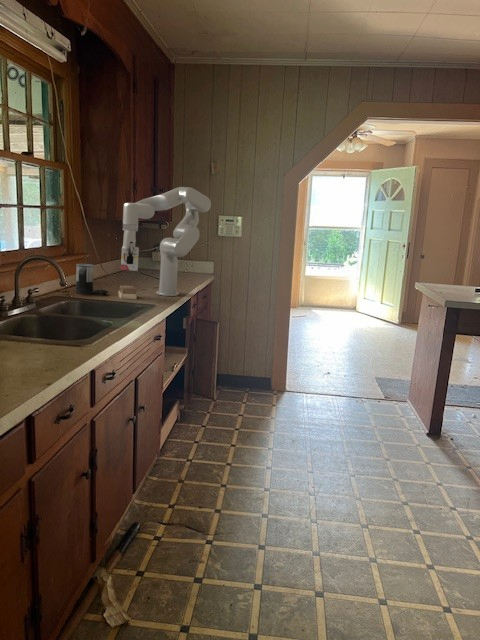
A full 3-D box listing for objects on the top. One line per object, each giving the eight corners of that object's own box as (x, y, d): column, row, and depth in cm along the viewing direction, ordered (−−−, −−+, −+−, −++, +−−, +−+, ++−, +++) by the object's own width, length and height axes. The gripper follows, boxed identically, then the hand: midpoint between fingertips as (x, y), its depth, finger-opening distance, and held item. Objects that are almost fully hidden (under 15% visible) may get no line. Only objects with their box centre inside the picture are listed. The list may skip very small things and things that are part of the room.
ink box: (120, 269, 246) (121, 246, 244) (121, 268, 251) (121, 245, 249) (137, 271, 248) (138, 247, 246) (137, 269, 253) (138, 247, 250)
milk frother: (74, 290, 257) (74, 263, 254) (104, 291, 264) (105, 264, 260) (77, 296, 245) (77, 266, 241) (109, 296, 251) (109, 268, 248)
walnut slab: (119, 291, 254) (120, 285, 253) (133, 291, 257) (133, 286, 256) (122, 293, 247) (122, 288, 247) (136, 294, 250) (136, 288, 250)
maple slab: (118, 296, 255) (118, 291, 254) (133, 297, 258) (133, 291, 257) (120, 299, 248) (120, 293, 247) (136, 299, 251) (136, 294, 250)
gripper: (120, 226, 251) (119, 260, 255) (125, 228, 236) (123, 265, 240) (134, 227, 254) (133, 261, 258) (140, 229, 238) (139, 265, 242)
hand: (128, 262), depth 249 cm, fingers closed on ink box, 5 cm apart
